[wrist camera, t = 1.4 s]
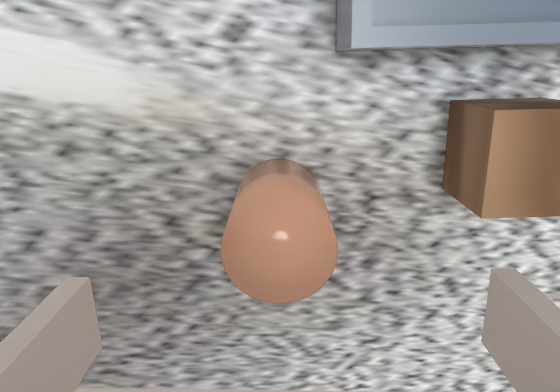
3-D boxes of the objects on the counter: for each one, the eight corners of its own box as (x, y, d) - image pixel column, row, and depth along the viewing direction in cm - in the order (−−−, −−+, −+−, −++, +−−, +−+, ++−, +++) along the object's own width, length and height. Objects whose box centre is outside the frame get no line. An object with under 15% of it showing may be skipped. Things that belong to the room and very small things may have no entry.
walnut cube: (441, 187, 25) (481, 218, 20) (449, 100, 23) (494, 110, 18) (527, 185, 25) (587, 215, 20) (541, 97, 23) (610, 107, 18)
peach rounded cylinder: (238, 241, 25) (224, 305, 19) (233, 160, 24) (216, 198, 17) (321, 238, 25) (336, 302, 19) (321, 157, 24) (338, 195, 17)
